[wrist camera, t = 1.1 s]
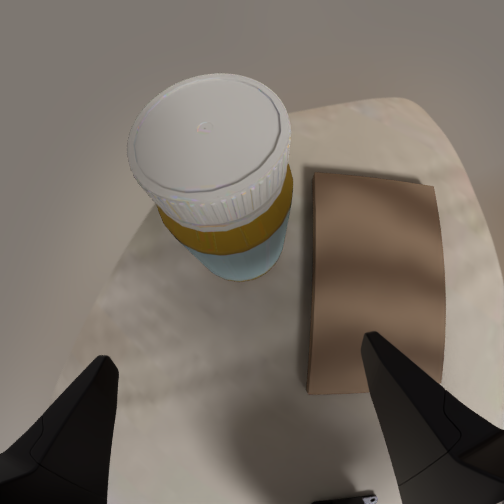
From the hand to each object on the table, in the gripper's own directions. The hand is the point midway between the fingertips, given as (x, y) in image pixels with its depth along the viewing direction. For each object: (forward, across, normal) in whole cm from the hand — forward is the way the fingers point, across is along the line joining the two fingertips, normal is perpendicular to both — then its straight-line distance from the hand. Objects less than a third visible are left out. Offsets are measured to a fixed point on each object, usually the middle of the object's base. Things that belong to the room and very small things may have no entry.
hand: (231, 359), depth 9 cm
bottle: (+15, 0, +4) cm, 16 cm away
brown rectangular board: (+12, -11, +8) cm, 18 cm away
